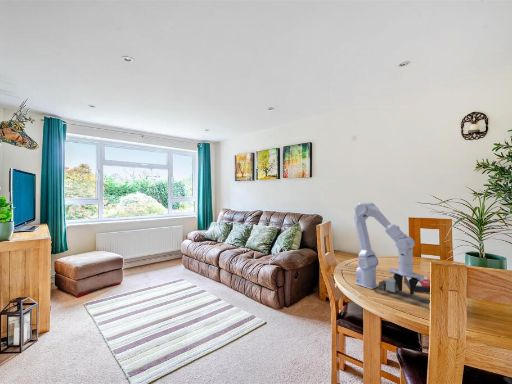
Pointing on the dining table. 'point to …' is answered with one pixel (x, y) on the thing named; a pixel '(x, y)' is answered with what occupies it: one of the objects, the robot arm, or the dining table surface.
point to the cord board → (403, 296)
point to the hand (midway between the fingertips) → (406, 292)
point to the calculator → (419, 285)
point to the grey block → (391, 285)
